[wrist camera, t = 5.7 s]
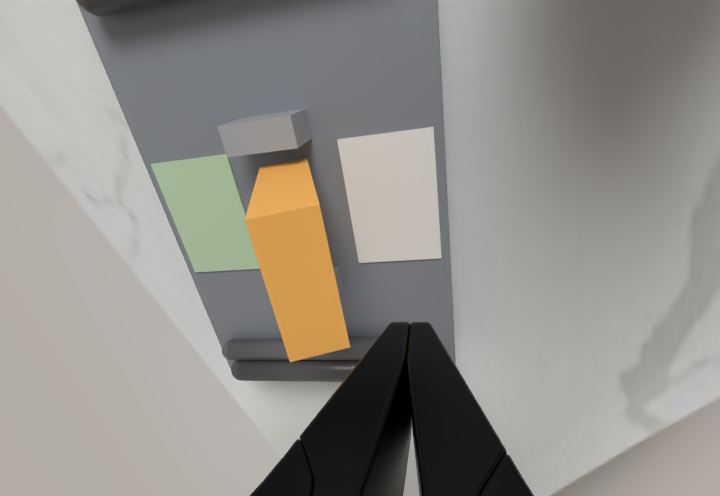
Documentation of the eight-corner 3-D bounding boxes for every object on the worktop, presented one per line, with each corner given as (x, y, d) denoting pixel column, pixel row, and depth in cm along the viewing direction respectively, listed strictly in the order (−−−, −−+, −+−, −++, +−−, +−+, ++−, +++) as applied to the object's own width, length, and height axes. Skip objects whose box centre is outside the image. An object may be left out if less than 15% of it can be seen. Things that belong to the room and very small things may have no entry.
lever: (306, 158, 15) (319, 204, 10) (329, 260, 18) (350, 347, 12) (259, 167, 15) (244, 220, 10) (288, 269, 17) (289, 362, 12)
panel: (429, -109, 14) (431, -186, 9) (452, 343, 23) (458, 409, 19) (116, -26, 17) (6, -56, 12) (253, 344, 26) (218, 402, 22)
